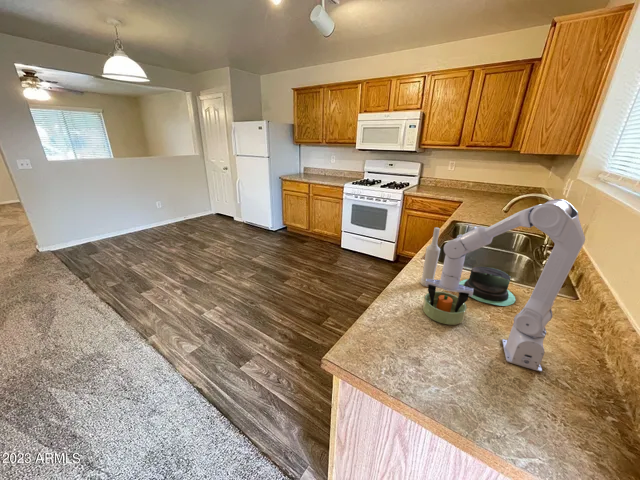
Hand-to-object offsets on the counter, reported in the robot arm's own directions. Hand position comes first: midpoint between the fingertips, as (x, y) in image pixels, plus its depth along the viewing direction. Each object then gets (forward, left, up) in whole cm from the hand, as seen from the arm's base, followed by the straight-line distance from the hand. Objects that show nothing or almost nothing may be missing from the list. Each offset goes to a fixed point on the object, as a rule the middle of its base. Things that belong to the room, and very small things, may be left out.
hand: (443, 307), depth 92 cm
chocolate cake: (+24, -15, -3) cm, 29 cm away
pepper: (0, 0, -2) cm, 2 cm away
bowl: (0, 0, -2) cm, 2 cm away
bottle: (+19, +7, -3) cm, 20 cm away
